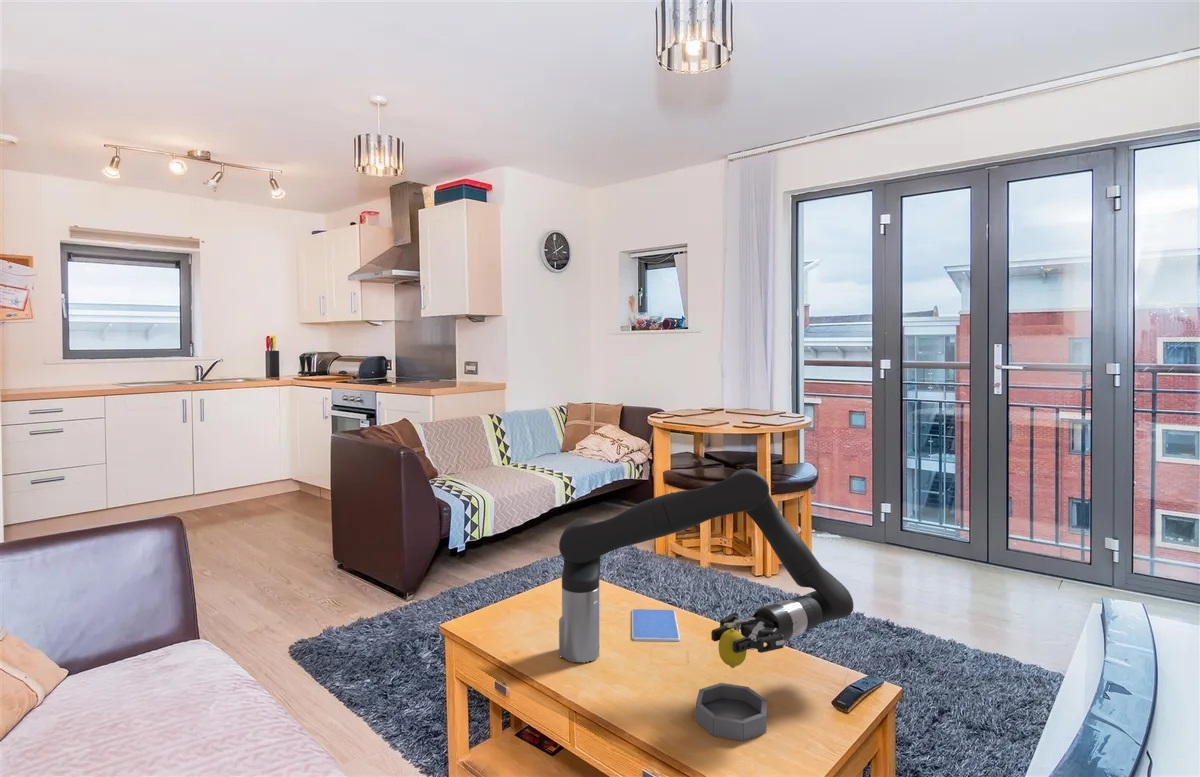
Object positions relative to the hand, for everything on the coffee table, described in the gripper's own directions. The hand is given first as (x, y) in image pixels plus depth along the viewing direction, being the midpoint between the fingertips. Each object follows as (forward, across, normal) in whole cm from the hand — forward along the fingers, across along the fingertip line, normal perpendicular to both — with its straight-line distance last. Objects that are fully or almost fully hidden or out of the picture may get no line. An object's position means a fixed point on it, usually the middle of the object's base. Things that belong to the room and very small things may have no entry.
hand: (723, 641), depth 125 cm
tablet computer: (-17, -44, +18) cm, 50 cm away
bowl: (-2, 0, +17) cm, 17 cm away
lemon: (-3, 0, +6) cm, 7 cm away
